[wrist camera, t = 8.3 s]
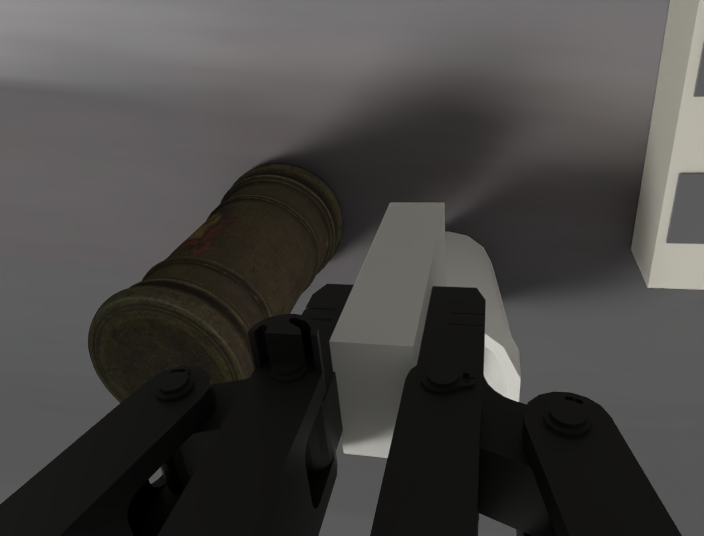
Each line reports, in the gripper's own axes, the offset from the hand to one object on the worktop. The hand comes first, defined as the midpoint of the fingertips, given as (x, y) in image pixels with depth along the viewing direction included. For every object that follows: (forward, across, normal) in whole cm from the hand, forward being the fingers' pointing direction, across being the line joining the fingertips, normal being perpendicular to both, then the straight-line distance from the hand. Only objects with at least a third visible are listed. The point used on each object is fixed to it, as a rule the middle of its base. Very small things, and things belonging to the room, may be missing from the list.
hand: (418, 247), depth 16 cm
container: (+23, -13, -9) cm, 28 cm away
